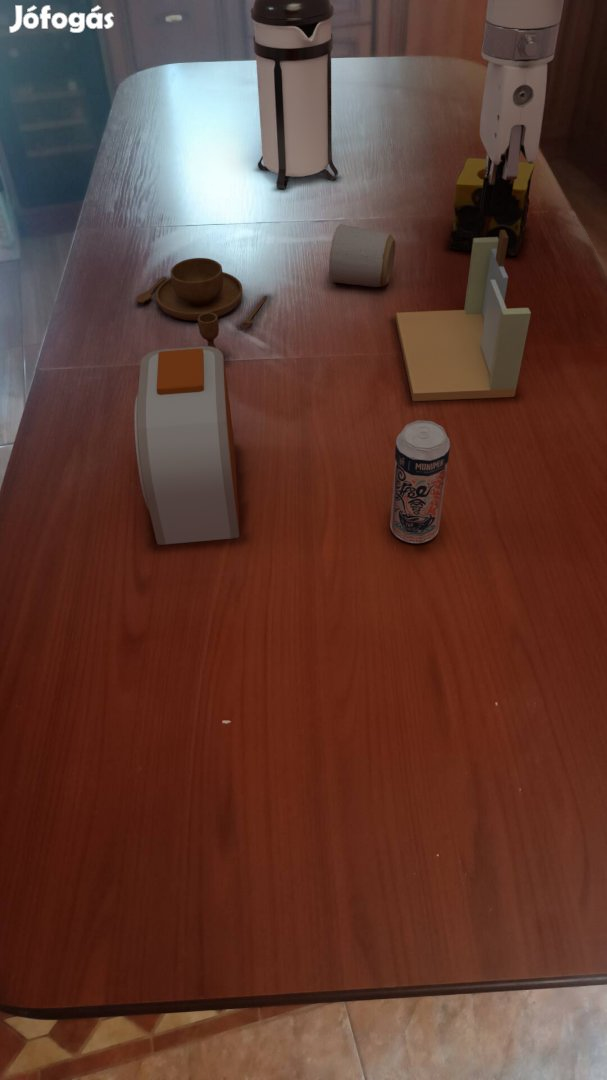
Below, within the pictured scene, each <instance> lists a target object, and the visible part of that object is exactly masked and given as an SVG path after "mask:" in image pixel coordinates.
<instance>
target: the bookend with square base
mask: <svg viewBox="0 0 607 1080" xmlns="http://www.w3.org/2000/svg"><path fill="white" fill-rule="evenodd" d="M498 240H499V239H498V237H488V238H473V245H472V251H471V254H470V262H469V270H468V277H467V285H466V292H465V302H464V307H463V308H464V309H450V310H427V311H426V310H425V311H424V310H423V311H405V312H404V311H403V312H395V323H396V328H397V329H396V330H397V334H398V338H399V343H400V347H401V353H402V357H403V362H404V366H405V372H406V376H407V381H408V385H409V386H408V387H409V390H410V395H411V400H412V402H429V401H430V402H431V401H454V400H455V401H456V400H474V399H475V400H476V399H496V398H497V399H500V398H515V395H516V391H517V386H518V383H519V376H520V370H521V366H522V361H523V355H524V352H525V351H524V350H525V345H526V341H527V335H528V331H529V326H530V319H531V315H532V312H531V310H530V309H529V307H512V308H507V305H506V303H505V300H503V298H502V296H501V293H500V291H499V288H498V286H497V283H496V281H495V280H490V284H489V291H488V298H487V304H486V311H485V318H484V317H483V314H482V309H483V303H484V296H485V289H486V282H487V275H488V269H489V262H490V255H491V249H496V250H497V246H498Z"/></svg>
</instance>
